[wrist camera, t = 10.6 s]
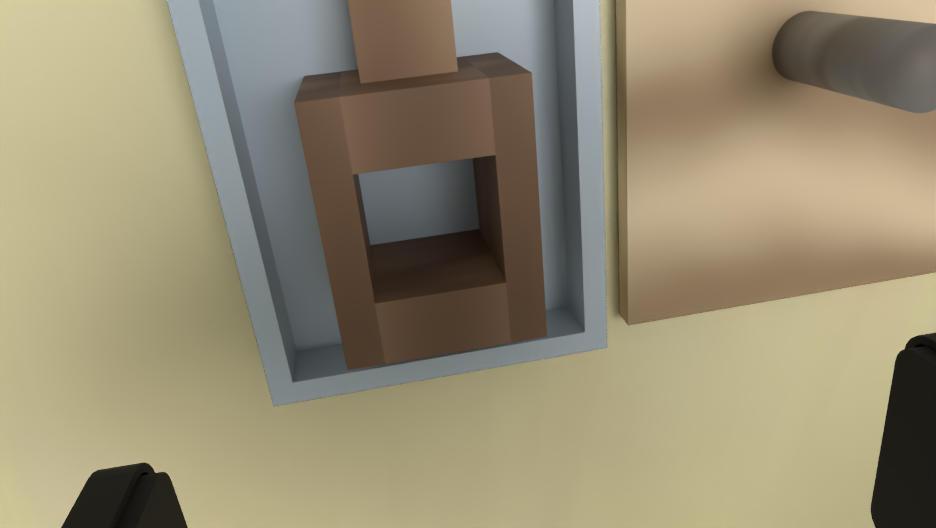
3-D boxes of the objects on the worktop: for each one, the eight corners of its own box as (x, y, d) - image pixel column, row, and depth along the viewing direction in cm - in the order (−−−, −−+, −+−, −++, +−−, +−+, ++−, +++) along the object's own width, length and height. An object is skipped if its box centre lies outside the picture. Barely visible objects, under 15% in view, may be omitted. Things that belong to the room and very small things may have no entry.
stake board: (957, 256, 26) (1114, 332, 20) (619, 314, 24) (694, 411, 19) (1041, -148, 20) (1284, -186, 15) (614, -103, 19) (717, -128, 14)
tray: (583, 313, 24) (607, 348, 22) (280, 364, 23) (273, 406, 21) (565, -171, 18) (595, -189, 16) (156, -132, 17) (128, -146, 15)
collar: (488, -66, 18) (523, -73, 15) (514, 275, 22) (547, 336, 19) (281, -44, 18) (264, -46, 14) (347, 302, 22) (347, 370, 18)
